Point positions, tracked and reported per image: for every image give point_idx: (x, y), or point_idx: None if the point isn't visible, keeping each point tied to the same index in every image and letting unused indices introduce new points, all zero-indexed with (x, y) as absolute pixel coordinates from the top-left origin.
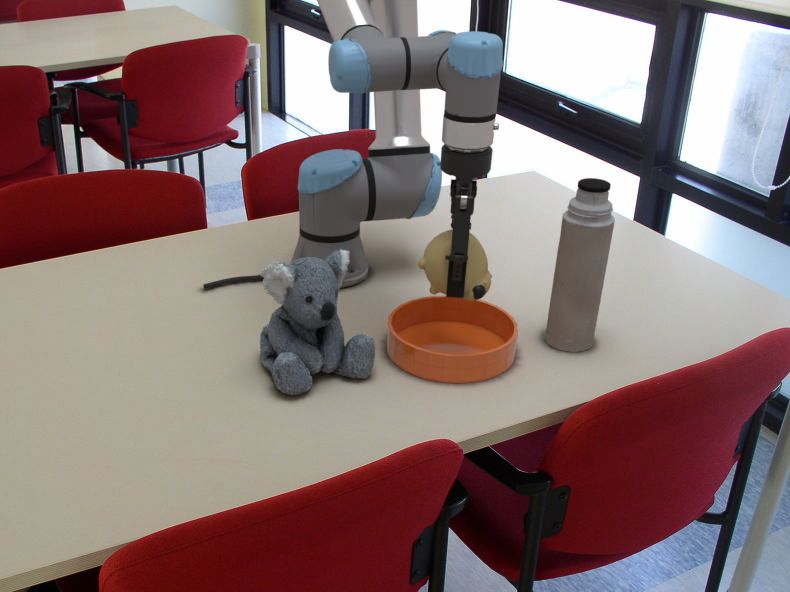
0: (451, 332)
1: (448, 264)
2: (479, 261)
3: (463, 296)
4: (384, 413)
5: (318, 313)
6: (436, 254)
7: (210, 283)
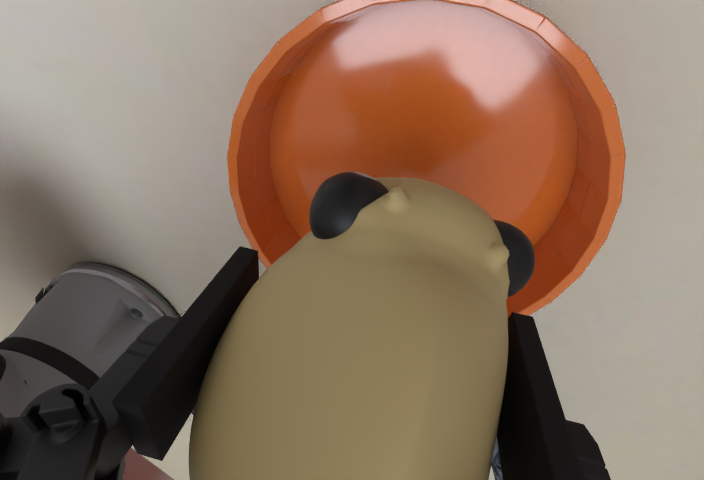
0: (327, 161)
1: None
2: (479, 381)
3: (533, 322)
4: (636, 343)
5: None
6: None
7: None
